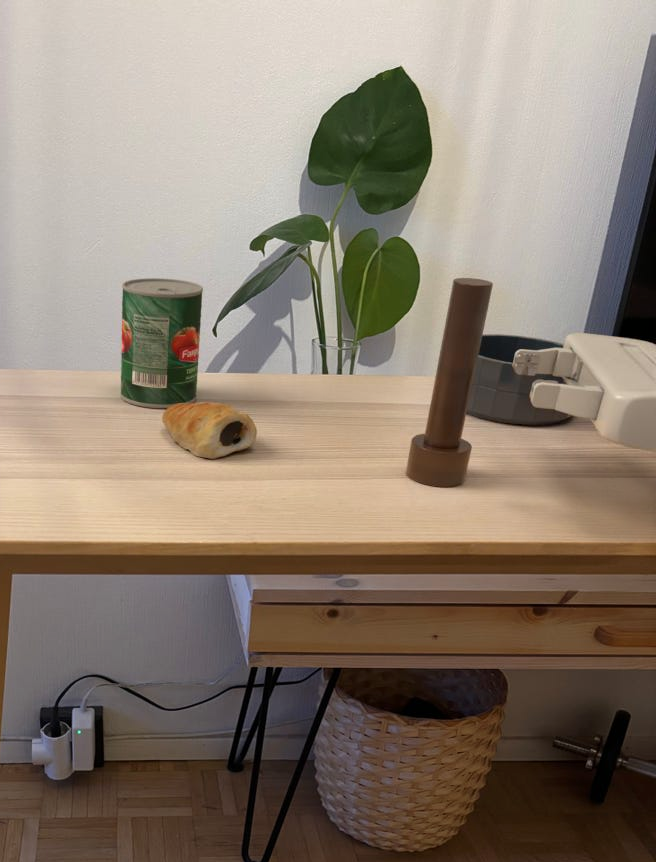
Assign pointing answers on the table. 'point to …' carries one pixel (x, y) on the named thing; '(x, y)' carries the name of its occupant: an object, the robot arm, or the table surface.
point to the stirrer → (452, 389)
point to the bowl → (509, 383)
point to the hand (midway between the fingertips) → (522, 376)
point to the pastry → (209, 428)
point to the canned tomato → (160, 341)
